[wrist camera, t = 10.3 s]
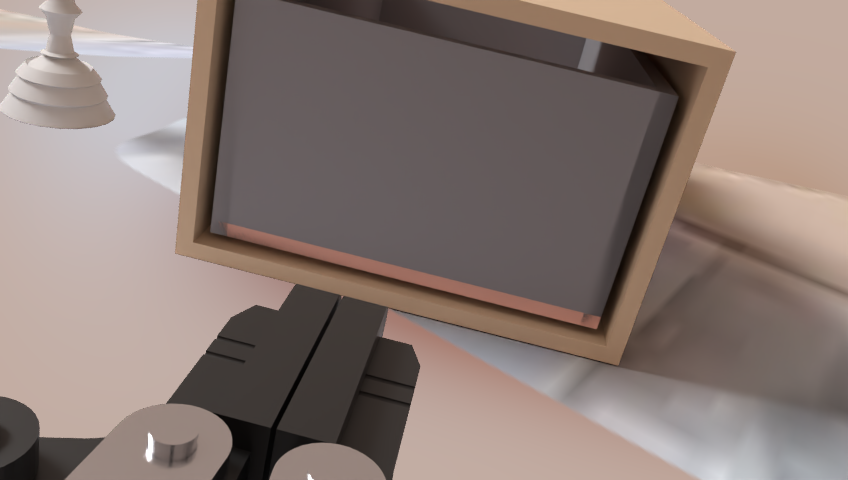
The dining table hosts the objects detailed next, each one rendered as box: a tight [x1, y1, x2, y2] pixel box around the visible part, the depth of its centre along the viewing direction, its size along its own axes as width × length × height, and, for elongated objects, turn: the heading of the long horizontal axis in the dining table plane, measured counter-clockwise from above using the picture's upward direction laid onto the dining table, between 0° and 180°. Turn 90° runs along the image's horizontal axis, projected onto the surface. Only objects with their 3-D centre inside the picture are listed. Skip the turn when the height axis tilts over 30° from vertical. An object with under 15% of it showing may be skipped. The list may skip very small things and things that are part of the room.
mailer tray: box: [210, 0, 679, 329], centre depth 38 cm, size 26×14×8 cm, turn 172°
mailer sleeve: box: [175, 0, 736, 366], centre depth 33 cm, size 18×16×11 cm
